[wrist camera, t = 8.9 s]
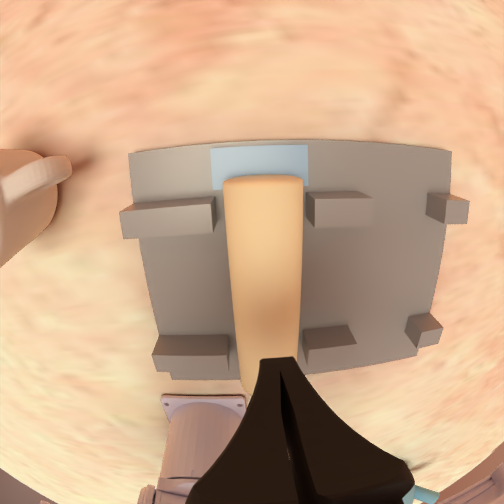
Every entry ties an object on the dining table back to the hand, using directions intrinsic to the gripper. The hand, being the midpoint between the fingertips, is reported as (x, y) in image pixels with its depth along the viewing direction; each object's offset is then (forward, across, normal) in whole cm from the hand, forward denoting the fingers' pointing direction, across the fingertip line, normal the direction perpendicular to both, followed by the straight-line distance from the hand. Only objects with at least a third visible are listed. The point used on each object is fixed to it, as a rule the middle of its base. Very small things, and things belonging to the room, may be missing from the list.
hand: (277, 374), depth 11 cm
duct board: (+10, -3, 0) cm, 10 cm away
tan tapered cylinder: (+8, 0, 0) cm, 8 cm away
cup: (+10, +16, -8) cm, 21 cm away
